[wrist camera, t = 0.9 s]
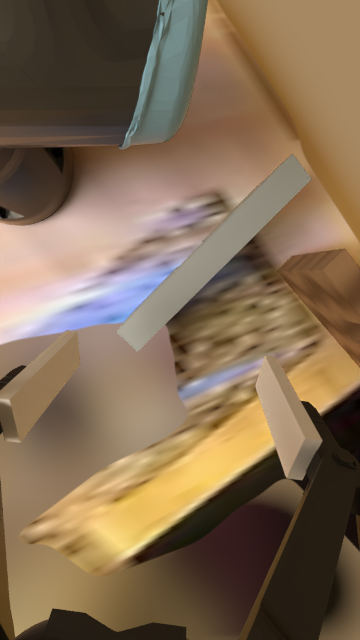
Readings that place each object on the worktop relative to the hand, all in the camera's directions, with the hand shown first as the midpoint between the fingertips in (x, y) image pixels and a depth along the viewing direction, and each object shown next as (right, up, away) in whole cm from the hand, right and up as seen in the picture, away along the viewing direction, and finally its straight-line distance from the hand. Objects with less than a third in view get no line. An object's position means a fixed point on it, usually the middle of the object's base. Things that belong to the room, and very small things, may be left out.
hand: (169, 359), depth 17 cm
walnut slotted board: (+23, +3, +19) cm, 31 cm away
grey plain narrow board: (+3, +11, +16) cm, 20 cm away
